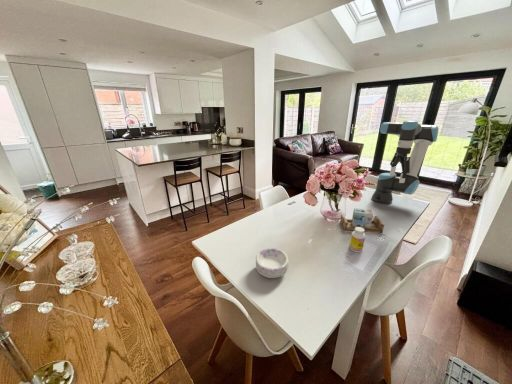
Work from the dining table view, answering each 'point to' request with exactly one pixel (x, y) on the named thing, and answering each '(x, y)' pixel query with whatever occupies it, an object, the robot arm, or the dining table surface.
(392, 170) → the robot arm
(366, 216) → the light bulb box
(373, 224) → the tray
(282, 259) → the white marbled bowl
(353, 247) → the supplement bottle
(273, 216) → the dining table surface
